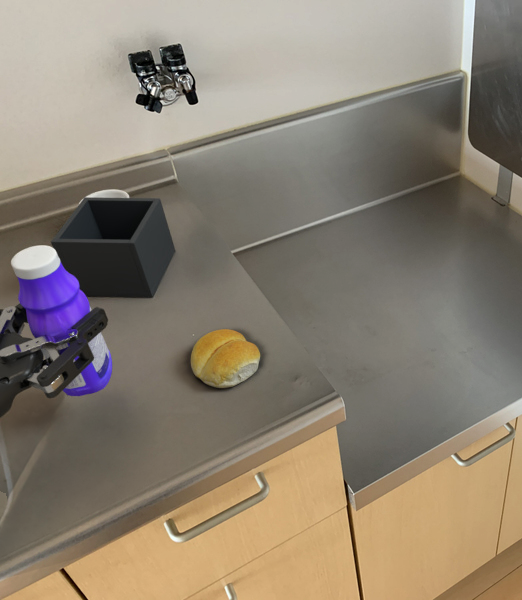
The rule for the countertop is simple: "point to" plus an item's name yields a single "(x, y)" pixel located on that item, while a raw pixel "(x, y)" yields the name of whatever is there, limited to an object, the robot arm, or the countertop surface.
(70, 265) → the trash bin
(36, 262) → the bottle
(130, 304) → the countertop surface
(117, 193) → the teacup
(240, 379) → the bread roll
